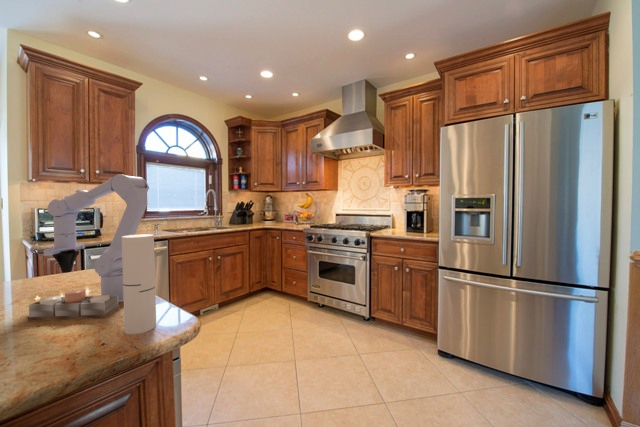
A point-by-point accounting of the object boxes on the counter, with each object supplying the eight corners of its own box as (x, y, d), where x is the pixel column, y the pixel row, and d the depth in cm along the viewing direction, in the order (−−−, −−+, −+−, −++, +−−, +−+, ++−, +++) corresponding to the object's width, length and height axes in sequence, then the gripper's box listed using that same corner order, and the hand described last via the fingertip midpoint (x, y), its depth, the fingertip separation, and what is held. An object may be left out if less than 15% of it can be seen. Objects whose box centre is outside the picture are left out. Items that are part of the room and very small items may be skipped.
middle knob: (89, 301, 85) (89, 289, 84) (77, 307, 80) (77, 294, 80) (74, 302, 84) (73, 289, 84) (61, 308, 80) (60, 294, 80)
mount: (119, 309, 86) (119, 295, 86) (104, 318, 80) (103, 303, 80) (49, 311, 85) (49, 297, 85) (28, 320, 78) (27, 305, 78)
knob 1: (65, 308, 84) (65, 295, 84) (52, 314, 80) (51, 301, 80) (50, 309, 84) (49, 296, 84) (35, 315, 79) (35, 301, 79)
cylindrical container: (128, 324, 75) (125, 235, 74) (158, 320, 78) (155, 233, 77) (121, 336, 69) (118, 238, 68) (153, 331, 72) (151, 236, 71)
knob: (113, 307, 85) (113, 294, 85) (103, 313, 81) (102, 299, 80) (98, 307, 85) (97, 295, 85) (86, 313, 80) (86, 300, 80)
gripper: (70, 231, 103) (71, 267, 103) (32, 236, 88) (34, 277, 89) (90, 231, 103) (91, 267, 104) (56, 236, 89) (57, 277, 89)
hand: (66, 272), depth 96 cm, fingers closed
